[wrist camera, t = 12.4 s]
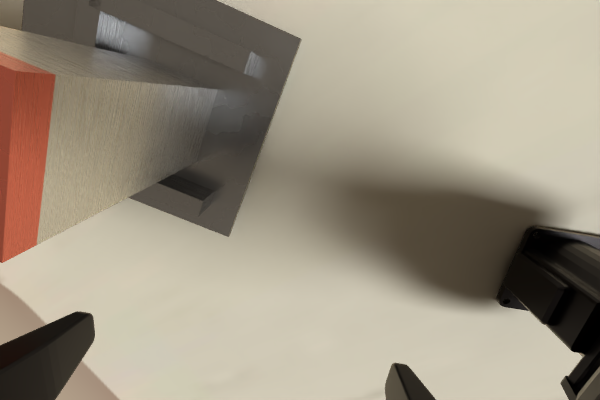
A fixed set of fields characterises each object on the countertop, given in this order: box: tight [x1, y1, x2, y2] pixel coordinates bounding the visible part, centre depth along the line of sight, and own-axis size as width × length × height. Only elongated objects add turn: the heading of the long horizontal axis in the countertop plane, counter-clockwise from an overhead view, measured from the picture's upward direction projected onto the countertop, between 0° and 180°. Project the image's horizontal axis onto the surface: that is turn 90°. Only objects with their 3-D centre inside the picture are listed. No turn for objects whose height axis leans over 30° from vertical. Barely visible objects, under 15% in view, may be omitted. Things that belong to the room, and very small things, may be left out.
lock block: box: [0, 26, 218, 263], centre depth 13 cm, size 5×5×13 cm
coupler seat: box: [22, 0, 301, 237], centre depth 18 cm, size 16×14×3 cm
